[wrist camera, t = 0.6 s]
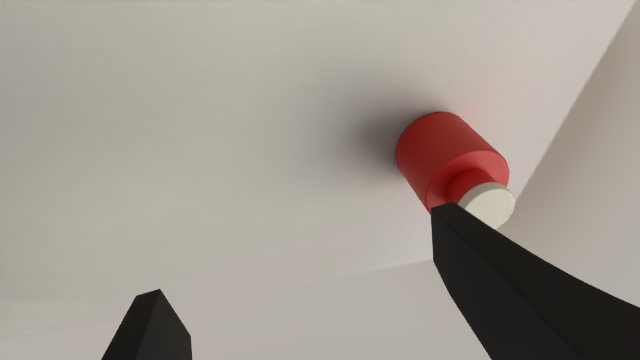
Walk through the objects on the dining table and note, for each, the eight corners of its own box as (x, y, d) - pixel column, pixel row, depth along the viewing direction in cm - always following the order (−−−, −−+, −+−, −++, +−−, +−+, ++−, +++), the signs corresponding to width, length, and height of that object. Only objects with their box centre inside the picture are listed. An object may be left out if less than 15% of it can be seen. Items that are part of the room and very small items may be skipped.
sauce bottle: (458, 176, 23) (516, 243, 19) (389, 182, 23) (433, 253, 18) (476, 109, 21) (547, 167, 17) (401, 113, 20) (454, 175, 16)
